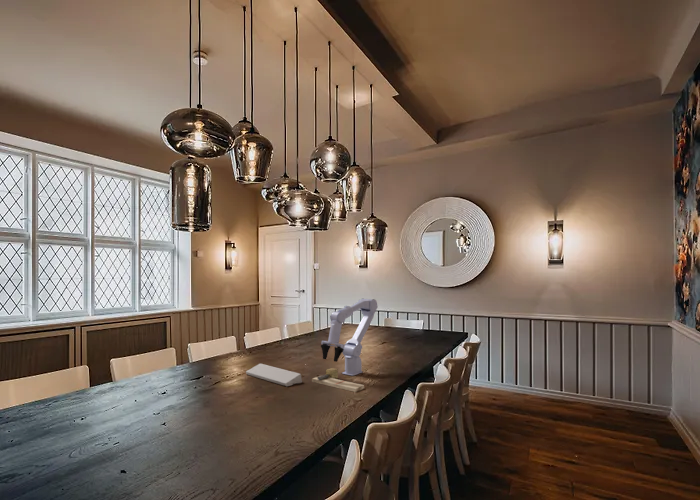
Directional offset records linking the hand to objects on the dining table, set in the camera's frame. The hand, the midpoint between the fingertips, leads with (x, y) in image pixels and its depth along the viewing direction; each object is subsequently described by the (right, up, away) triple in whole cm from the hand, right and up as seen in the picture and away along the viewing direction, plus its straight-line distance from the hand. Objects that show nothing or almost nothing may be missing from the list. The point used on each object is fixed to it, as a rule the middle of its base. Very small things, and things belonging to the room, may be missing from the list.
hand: (329, 360), depth 197 cm
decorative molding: (-30, -11, +2) cm, 32 cm away
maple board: (+4, -9, -10) cm, 14 cm away
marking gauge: (-1, -10, -2) cm, 10 cm away
